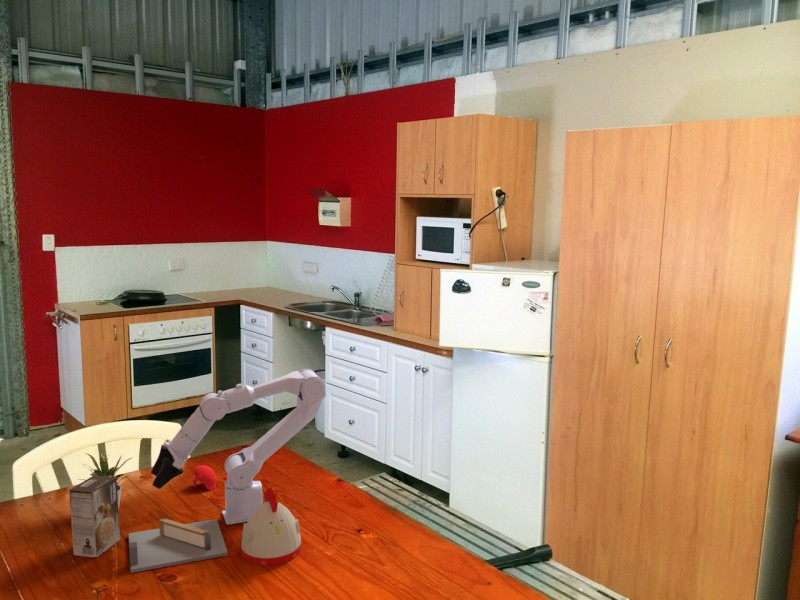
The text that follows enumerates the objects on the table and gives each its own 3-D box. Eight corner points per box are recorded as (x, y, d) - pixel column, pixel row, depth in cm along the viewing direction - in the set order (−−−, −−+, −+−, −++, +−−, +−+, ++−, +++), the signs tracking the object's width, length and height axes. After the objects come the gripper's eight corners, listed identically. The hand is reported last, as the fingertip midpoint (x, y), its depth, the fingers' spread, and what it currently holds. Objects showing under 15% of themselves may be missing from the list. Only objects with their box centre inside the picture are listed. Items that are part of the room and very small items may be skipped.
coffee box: (97, 536, 166) (94, 474, 164) (121, 539, 165) (117, 476, 163) (72, 555, 157) (68, 489, 155) (97, 558, 156) (93, 492, 154)
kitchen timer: (250, 570, 152) (248, 506, 150) (234, 543, 164) (233, 483, 162) (309, 556, 158) (308, 494, 156) (290, 531, 170) (289, 473, 168)
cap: (184, 476, 196) (192, 470, 192) (200, 463, 200) (208, 458, 196) (201, 498, 196) (209, 493, 192) (216, 485, 200) (225, 480, 196)
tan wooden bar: (207, 545, 160) (207, 531, 159) (203, 548, 159) (203, 533, 158) (164, 531, 166) (163, 518, 166) (159, 534, 165) (159, 520, 165)
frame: (216, 522, 174) (216, 503, 174) (227, 555, 158) (227, 534, 157) (128, 536, 166) (127, 517, 166) (130, 573, 150) (129, 551, 149)
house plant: (60, 517, 176) (57, 457, 174) (102, 497, 189) (99, 440, 186) (103, 528, 171) (99, 465, 168) (143, 505, 183) (140, 447, 181)
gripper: (174, 418, 175) (140, 461, 174) (178, 437, 162) (142, 484, 160) (196, 432, 178) (163, 475, 176) (203, 452, 165) (167, 498, 163)
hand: (155, 480), depth 169 cm, fingers open, 7 cm apart
